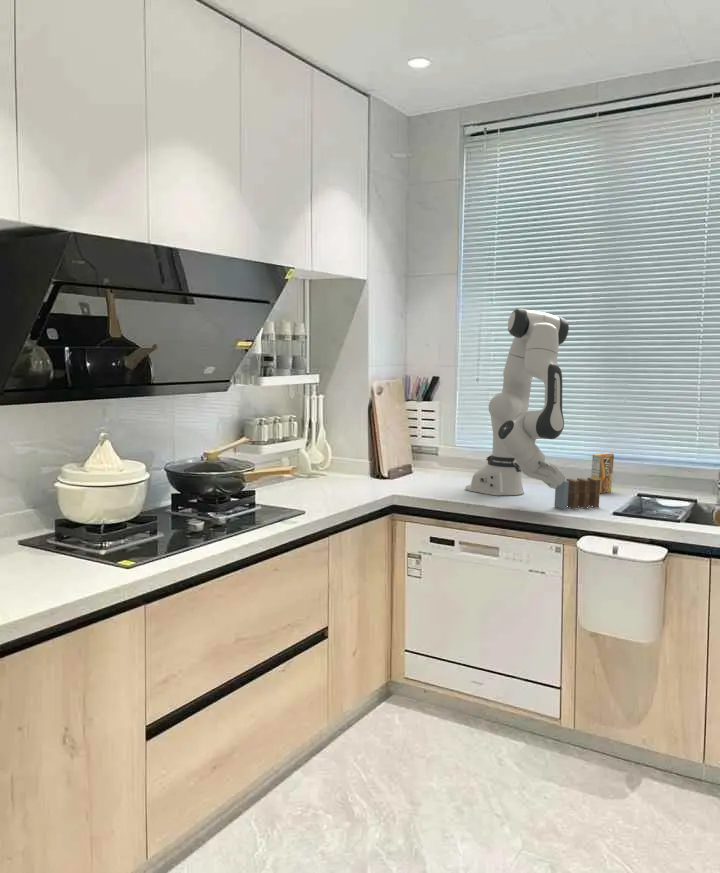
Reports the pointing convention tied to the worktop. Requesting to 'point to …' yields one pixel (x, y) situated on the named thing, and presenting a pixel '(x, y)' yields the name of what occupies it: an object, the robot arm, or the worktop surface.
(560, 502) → the loose tile
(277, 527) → the worktop surface
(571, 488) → the tile
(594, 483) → the brown wooden block
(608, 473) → the candy box
